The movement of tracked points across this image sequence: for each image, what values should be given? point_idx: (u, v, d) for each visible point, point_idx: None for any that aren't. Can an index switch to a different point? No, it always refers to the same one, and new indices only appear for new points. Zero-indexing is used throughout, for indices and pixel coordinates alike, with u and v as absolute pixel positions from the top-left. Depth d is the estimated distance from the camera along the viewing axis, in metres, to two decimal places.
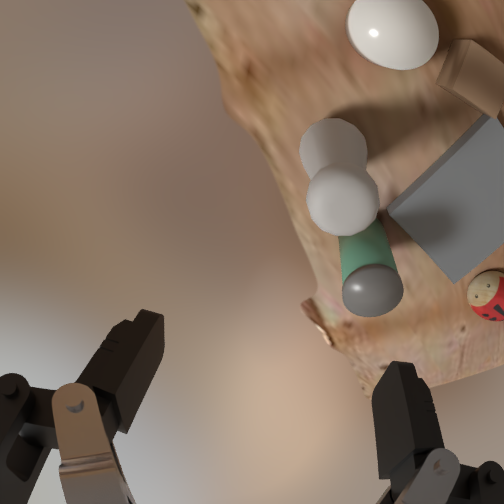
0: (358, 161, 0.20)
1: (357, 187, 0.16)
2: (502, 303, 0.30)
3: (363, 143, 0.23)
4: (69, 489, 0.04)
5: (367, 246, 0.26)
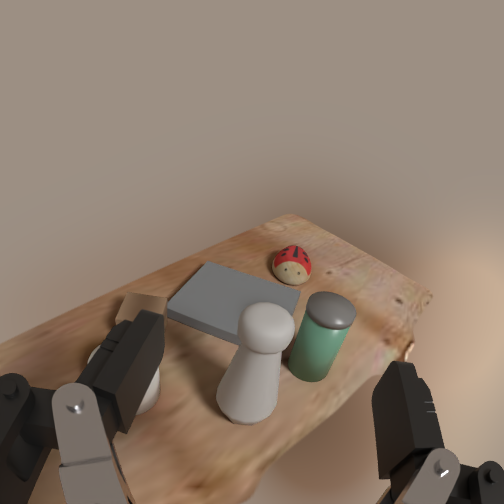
0: (238, 348, 0.26)
1: (249, 312, 0.23)
2: (290, 253, 0.53)
3: None
4: (69, 489, 0.04)
5: (306, 338, 0.32)
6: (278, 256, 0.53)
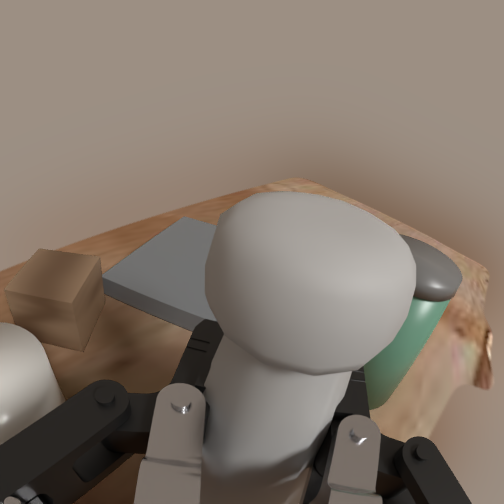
0: None
1: (251, 205, 0.06)
2: None
3: None
4: (144, 483, 0.05)
5: None
6: None
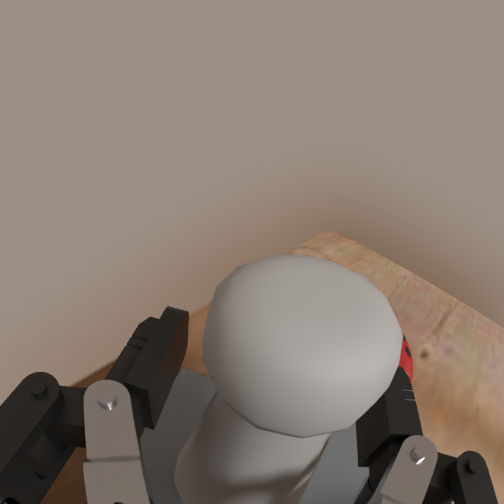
0: None
1: (246, 285, 0.06)
2: None
3: None
4: (92, 485, 0.04)
5: None
6: None
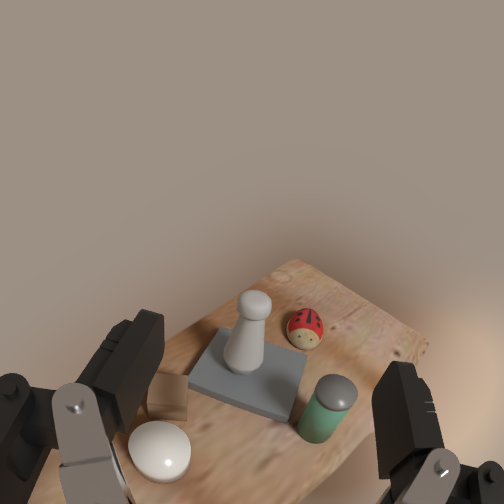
0: (238, 319, 0.42)
1: (244, 295, 0.39)
2: (303, 319, 0.55)
3: None
4: (69, 489, 0.04)
5: (314, 415, 0.35)
6: (292, 321, 0.55)
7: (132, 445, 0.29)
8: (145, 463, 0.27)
